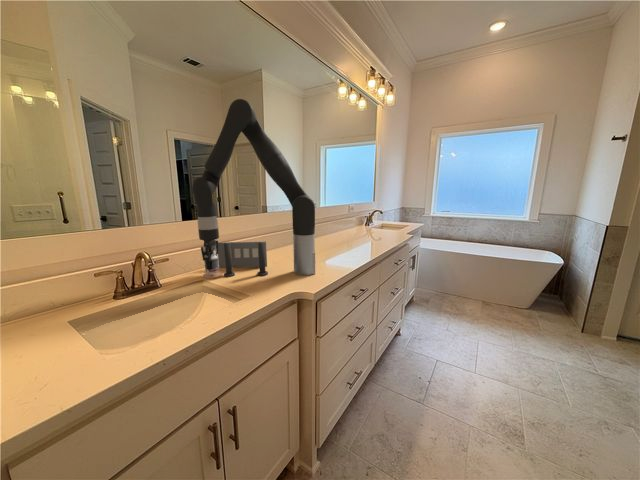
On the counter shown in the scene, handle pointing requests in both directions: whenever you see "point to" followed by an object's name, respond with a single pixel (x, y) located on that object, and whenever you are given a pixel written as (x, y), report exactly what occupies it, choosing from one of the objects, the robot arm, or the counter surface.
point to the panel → (241, 254)
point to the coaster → (212, 275)
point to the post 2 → (262, 260)
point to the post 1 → (228, 261)
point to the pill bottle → (213, 264)
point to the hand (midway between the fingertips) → (212, 267)
